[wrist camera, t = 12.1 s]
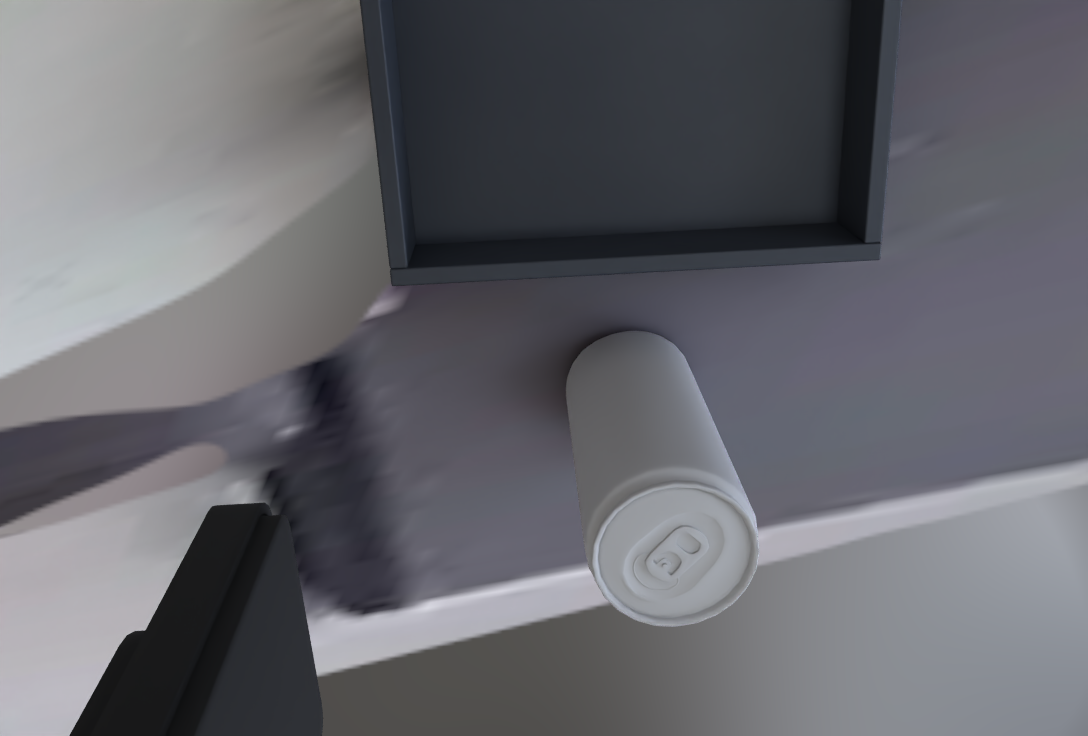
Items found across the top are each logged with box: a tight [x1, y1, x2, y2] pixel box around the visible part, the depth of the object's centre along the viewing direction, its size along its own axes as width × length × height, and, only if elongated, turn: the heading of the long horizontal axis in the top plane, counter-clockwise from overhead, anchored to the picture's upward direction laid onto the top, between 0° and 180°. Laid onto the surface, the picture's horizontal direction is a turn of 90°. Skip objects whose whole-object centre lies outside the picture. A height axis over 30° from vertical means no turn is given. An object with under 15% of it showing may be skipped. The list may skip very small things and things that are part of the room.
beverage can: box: [566, 331, 759, 626], centre depth 32 cm, size 5×5×12 cm
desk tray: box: [360, 0, 902, 286], centre depth 31 cm, size 13×16×3 cm
